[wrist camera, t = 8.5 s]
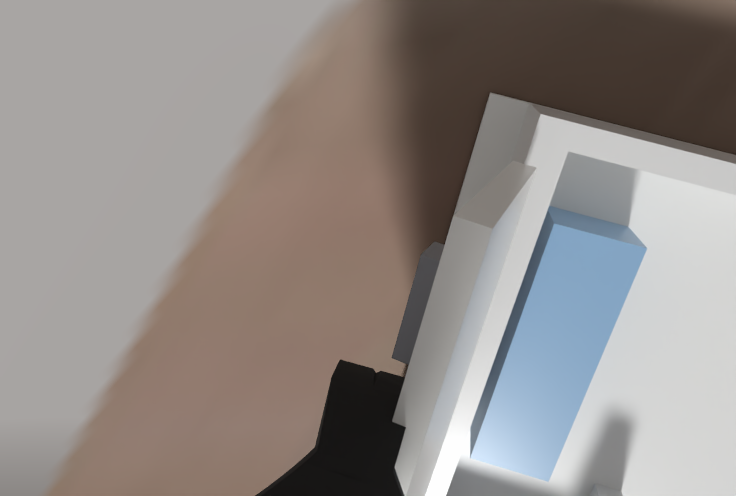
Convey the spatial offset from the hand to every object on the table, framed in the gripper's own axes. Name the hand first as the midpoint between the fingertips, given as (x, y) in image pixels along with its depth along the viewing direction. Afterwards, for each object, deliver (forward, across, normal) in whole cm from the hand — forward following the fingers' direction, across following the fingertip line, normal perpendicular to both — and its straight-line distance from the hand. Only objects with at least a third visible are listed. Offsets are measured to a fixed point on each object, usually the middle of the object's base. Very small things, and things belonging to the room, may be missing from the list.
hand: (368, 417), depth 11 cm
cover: (+1, -1, 0) cm, 2 cm away
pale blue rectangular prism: (+7, -4, 0) cm, 8 cm away
